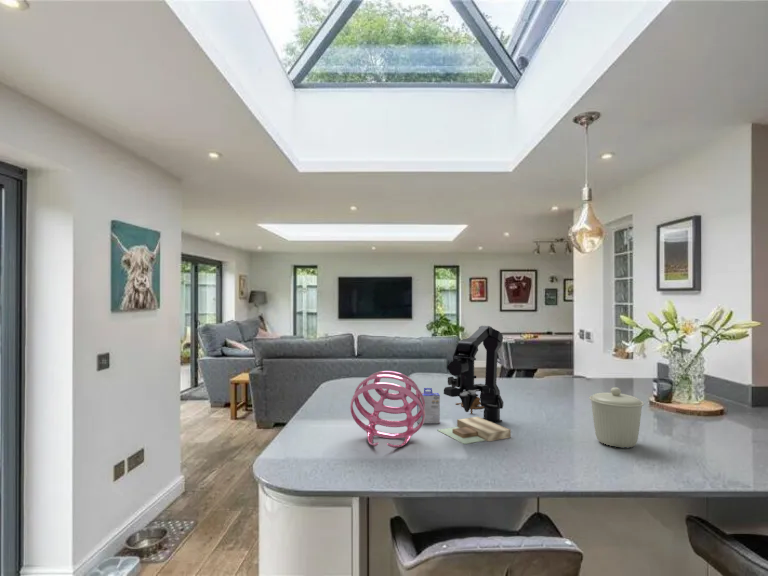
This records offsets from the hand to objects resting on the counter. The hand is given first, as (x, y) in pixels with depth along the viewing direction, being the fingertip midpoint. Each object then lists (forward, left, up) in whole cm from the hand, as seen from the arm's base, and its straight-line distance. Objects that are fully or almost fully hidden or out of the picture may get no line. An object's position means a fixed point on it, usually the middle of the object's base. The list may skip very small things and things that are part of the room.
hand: (466, 411), depth 168 cm
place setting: (-27, -34, -10) cm, 44 cm away
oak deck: (-8, 0, -9) cm, 12 cm away
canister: (-45, +32, -9) cm, 56 cm away
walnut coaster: (+1, 0, -9) cm, 9 cm away
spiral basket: (+32, -5, -9) cm, 34 cm away
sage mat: (+3, 0, -9) cm, 9 cm away
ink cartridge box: (+5, -21, -9) cm, 24 cm away
